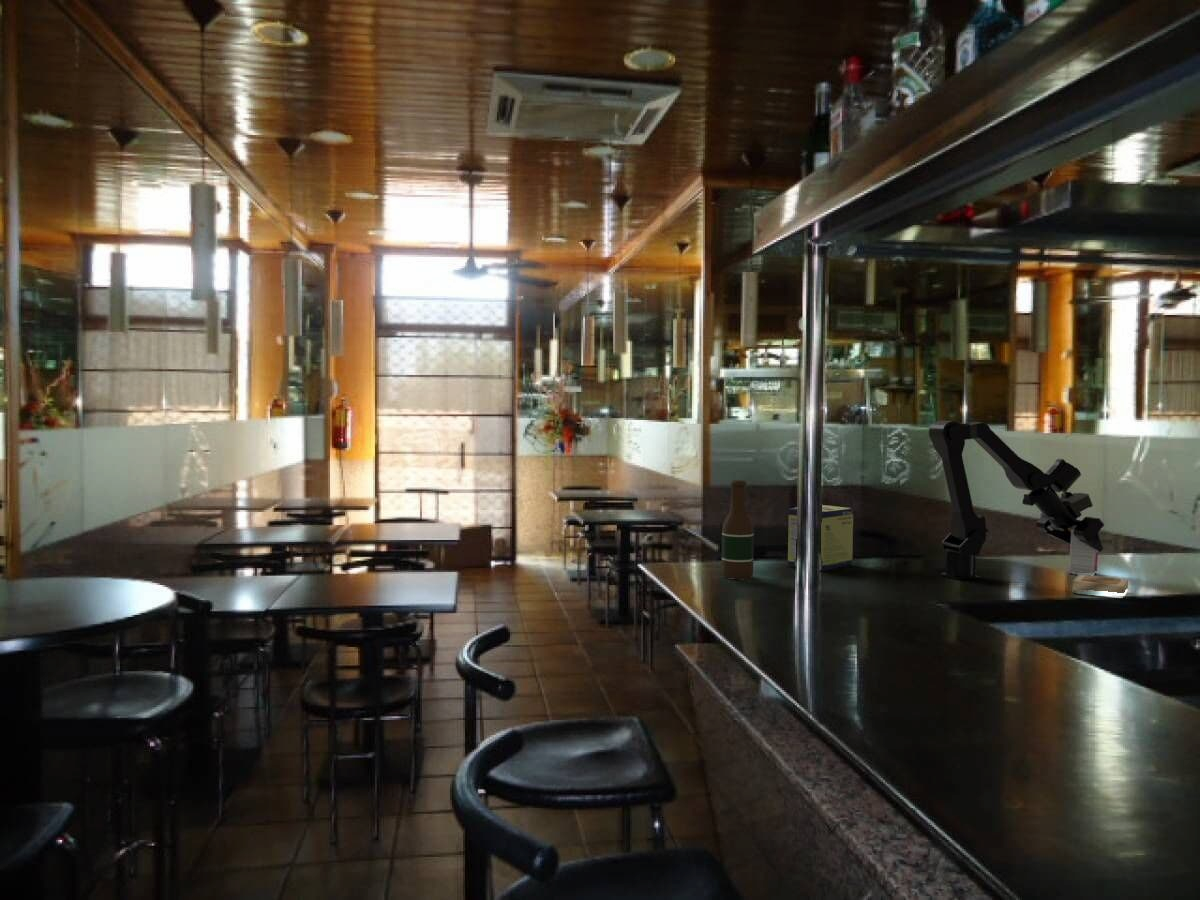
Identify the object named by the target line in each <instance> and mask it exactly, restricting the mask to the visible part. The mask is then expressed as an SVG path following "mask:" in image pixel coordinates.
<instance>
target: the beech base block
mask: <svg viewBox="0 0 1200 900" xmlns="http://www.w3.org/2000/svg"><path fill="white" fill-rule="evenodd" d="M1127 588H1128V589H1129V579H1127V578H1120V577H1119V578H1118V577H1107V576H1099V575H1098V576H1097V575H1094V576H1090V575H1076V577H1075V578H1074V579H1073V580H1072V591H1073V590H1087V591H1088V590H1094V591H1108V592H1117V593H1124V592H1125V590H1126V589H1127Z"/></svg>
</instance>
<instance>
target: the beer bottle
mask: <svg viewBox="0 0 1200 900" xmlns="http://www.w3.org/2000/svg"><path fill="white" fill-rule="evenodd" d="M730 485H731V494H730V508H729V513H728V514H727V515H726V517H725V519H724V521H723V524H722V527H721V528H722V529H721V577H722V576H724V577H726V578H734V579H749V580H751V579H752V578H753V576H754V575H753V574H754V546H755V545H754V543H755V542H754V541H755V539H754V538H755V536H754V535H755V533H754V532H755V531H754V530H755V529H754V523H753V522H752V518H751V516H749V514H748V511H747V500H746V499H747V497H746V485H747V482H746V480H743V479H732V480H731V482H730ZM751 577H752V578H751ZM726 578H725V579H726ZM750 578H751V579H750Z"/></svg>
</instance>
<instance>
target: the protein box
mask: <svg viewBox="0 0 1200 900" xmlns="http://www.w3.org/2000/svg"><path fill="white" fill-rule="evenodd" d="M821 505H822V522H821V558H822V561H823V564H822V571H821V572H825V571H829V570H834V569H838V567H840V568H844V567H843V566H845V567H848V566H847V565H851V566H852V565H853V549H854V548H853V539H854V507H845V506H836V505H829V504H828V505H826V504H821ZM797 508H798V507H792V508H791V507H790V508H788V537H787V538H788V539H787V542H788V543H787V567H790V568H795V567H794V561H795V559H796V539H797Z"/></svg>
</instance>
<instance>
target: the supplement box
mask: <svg viewBox="0 0 1200 900" xmlns="http://www.w3.org/2000/svg"><path fill="white" fill-rule="evenodd" d="M1070 532H1071V544H1069V545H1070V547H1069V549H1070V551H1069V564H1068V573H1069V572H1075V573H1094V572H1095V571H1097V572H1098V561H1099V558H1098V557H1099V551H1097V550H1095V549H1093V548H1092V547H1090V546H1088V545H1086V544H1084V543H1082V542H1080V541H1079V539H1078V538H1076V537H1075V535H1074V529H1071V531H1070ZM1098 534H1099V535H1100V531H1099V532H1098Z"/></svg>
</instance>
